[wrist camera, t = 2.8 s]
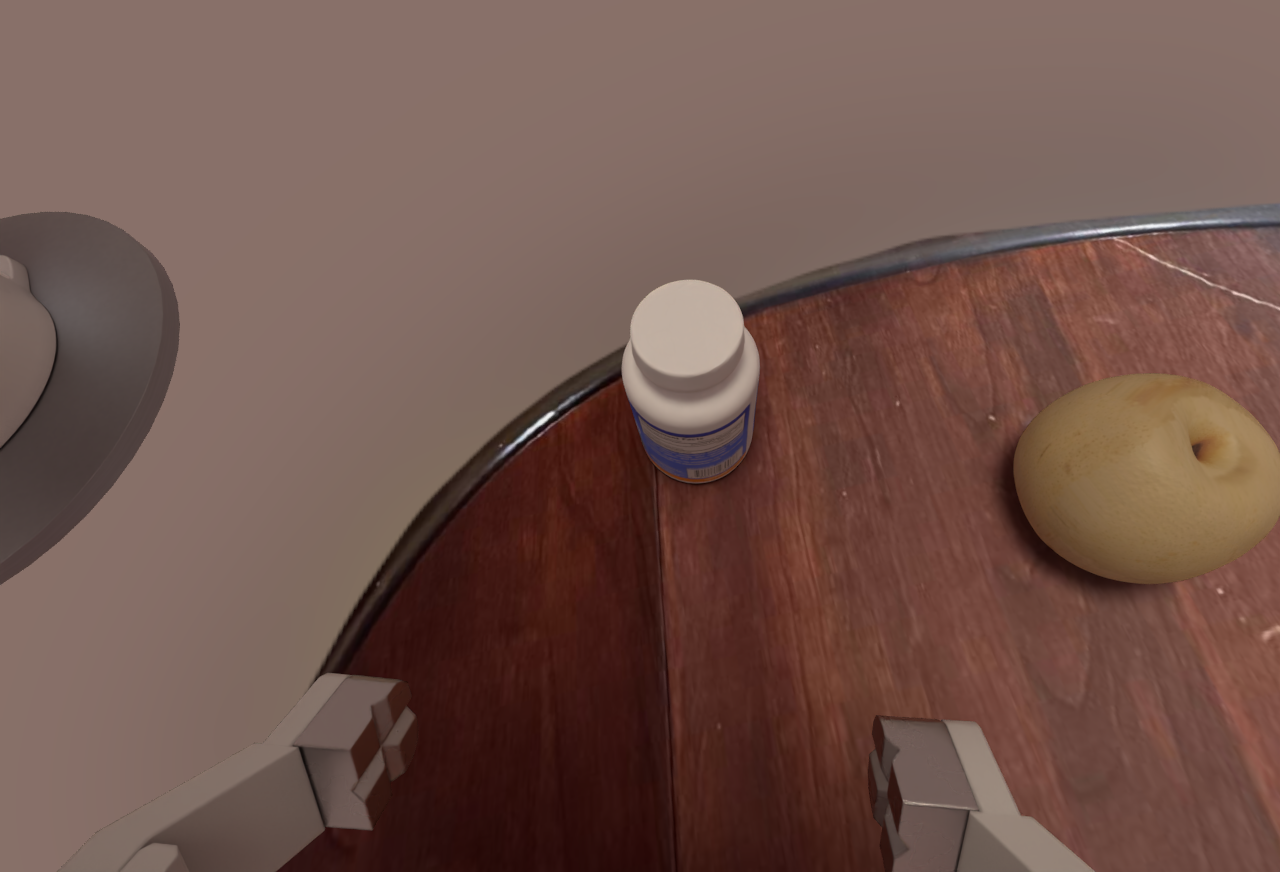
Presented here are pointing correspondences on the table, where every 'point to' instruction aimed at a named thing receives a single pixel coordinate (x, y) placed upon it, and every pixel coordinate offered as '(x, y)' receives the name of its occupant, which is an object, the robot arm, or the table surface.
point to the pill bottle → (692, 380)
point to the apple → (1148, 478)
